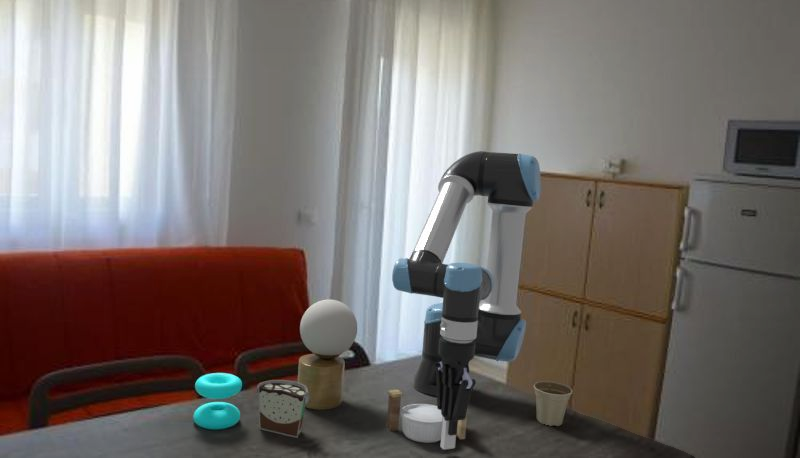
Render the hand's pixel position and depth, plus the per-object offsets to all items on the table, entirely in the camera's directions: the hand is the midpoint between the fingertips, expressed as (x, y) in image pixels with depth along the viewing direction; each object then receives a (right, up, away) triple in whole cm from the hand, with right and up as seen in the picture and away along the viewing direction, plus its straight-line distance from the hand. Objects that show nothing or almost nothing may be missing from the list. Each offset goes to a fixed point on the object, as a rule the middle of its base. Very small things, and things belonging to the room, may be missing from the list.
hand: (447, 447), depth 140 cm
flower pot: (+27, -2, +23) cm, 35 cm away
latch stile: (-12, +1, +11) cm, 16 cm away
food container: (-35, +2, +7) cm, 36 cm away
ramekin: (-5, -1, +10) cm, 11 cm away
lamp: (-29, +3, +26) cm, 40 cm away
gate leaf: (+2, 0, +12) cm, 12 cm away
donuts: (-51, +3, +7) cm, 51 cm away
